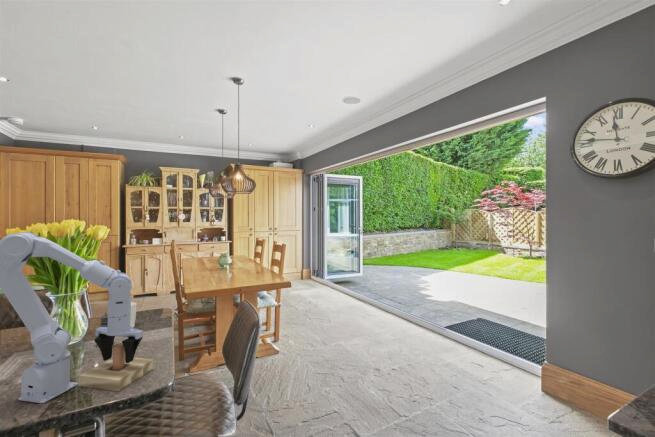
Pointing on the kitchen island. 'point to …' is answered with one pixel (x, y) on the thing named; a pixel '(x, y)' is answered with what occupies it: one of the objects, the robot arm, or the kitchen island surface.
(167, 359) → the kitchen island surface
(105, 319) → the chess piece
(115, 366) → the peg
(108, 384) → the socket block
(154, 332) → the kitchen island surface
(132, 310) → the white cup
